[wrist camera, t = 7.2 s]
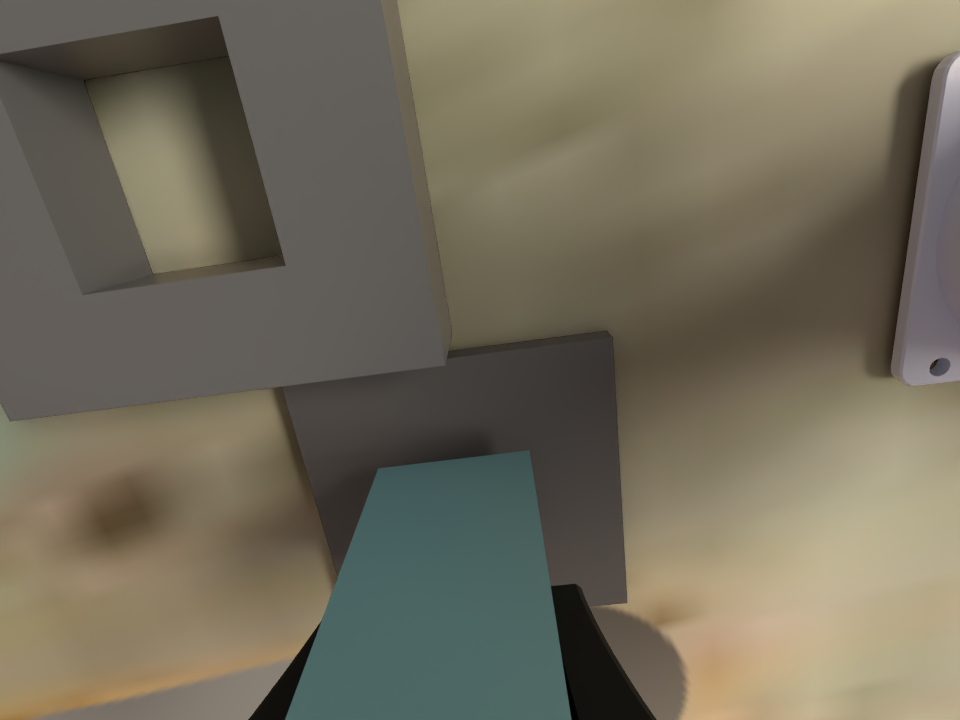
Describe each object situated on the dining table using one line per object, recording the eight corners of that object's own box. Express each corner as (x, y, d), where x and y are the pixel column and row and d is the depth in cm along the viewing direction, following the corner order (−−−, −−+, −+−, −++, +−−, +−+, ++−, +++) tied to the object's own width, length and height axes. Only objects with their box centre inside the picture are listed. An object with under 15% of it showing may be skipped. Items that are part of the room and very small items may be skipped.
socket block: (376, -124, 11) (344, -209, 8) (452, 333, 14) (445, 365, 12) (-95, -35, 11) (-250, -91, 9) (86, 381, 15) (9, 421, 12)
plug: (529, 450, 13) (586, 818, 6) (544, 572, 14) (607, 1000, 7) (378, 468, 13) (239, 845, 6) (407, 586, 15) (324, 1016, 7)
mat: (607, 330, 14) (612, 337, 13) (622, 588, 17) (627, 602, 16) (287, 372, 14) (279, 380, 14) (357, 614, 17) (353, 629, 17)
